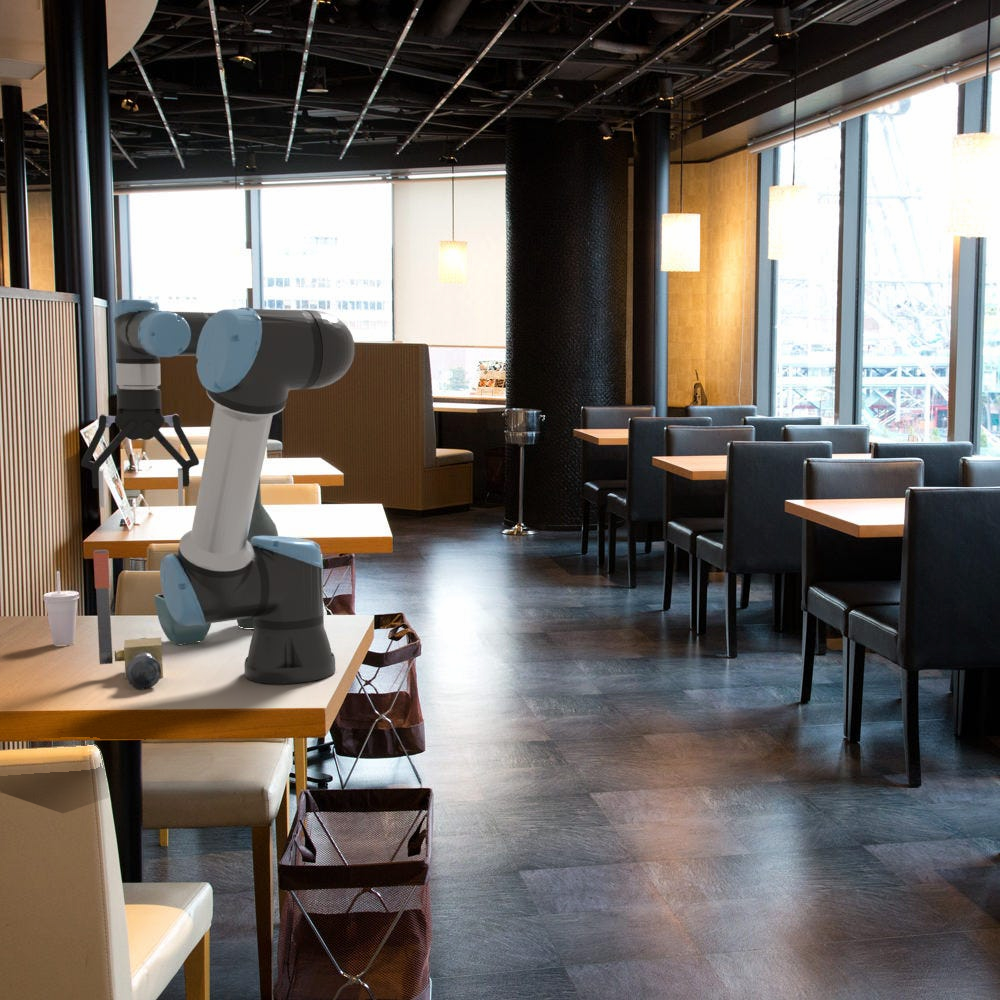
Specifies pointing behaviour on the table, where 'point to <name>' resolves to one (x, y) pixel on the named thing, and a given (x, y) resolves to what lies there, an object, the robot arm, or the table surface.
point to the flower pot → (178, 625)
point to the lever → (103, 605)
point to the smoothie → (62, 614)
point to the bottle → (258, 527)
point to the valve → (142, 661)
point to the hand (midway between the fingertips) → (141, 505)
